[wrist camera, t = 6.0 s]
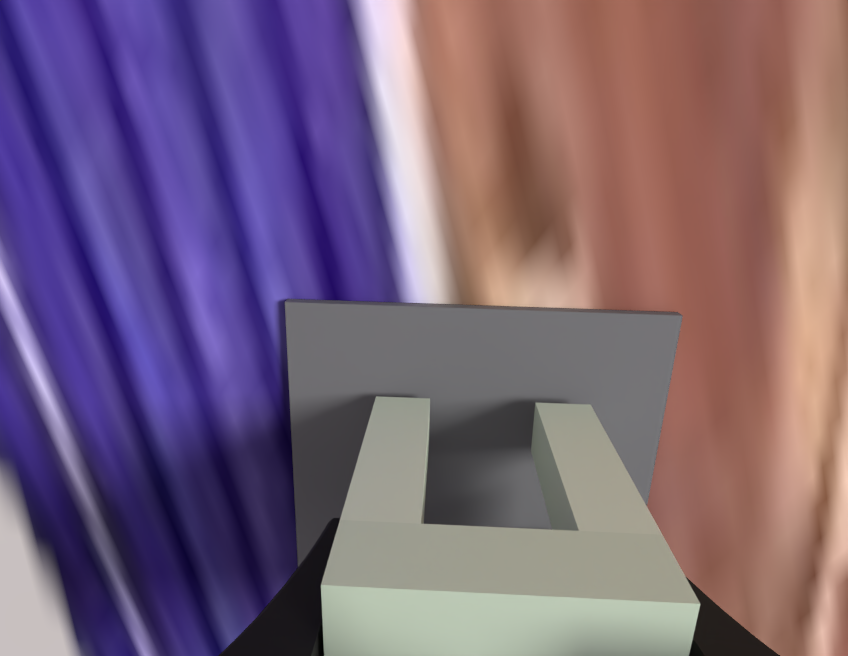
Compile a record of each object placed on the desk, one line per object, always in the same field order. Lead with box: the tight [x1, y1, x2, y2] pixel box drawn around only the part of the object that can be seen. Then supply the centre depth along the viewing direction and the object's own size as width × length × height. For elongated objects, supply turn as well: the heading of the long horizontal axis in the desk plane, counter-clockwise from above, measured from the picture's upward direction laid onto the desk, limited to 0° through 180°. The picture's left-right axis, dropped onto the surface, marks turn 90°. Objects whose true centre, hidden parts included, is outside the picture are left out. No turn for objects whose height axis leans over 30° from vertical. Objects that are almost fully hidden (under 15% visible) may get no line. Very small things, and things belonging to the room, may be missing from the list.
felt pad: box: [285, 299, 682, 567], centre depth 16 cm, size 10×10×1 cm
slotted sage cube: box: [321, 396, 700, 656], centre depth 12 cm, size 6×6×6 cm
